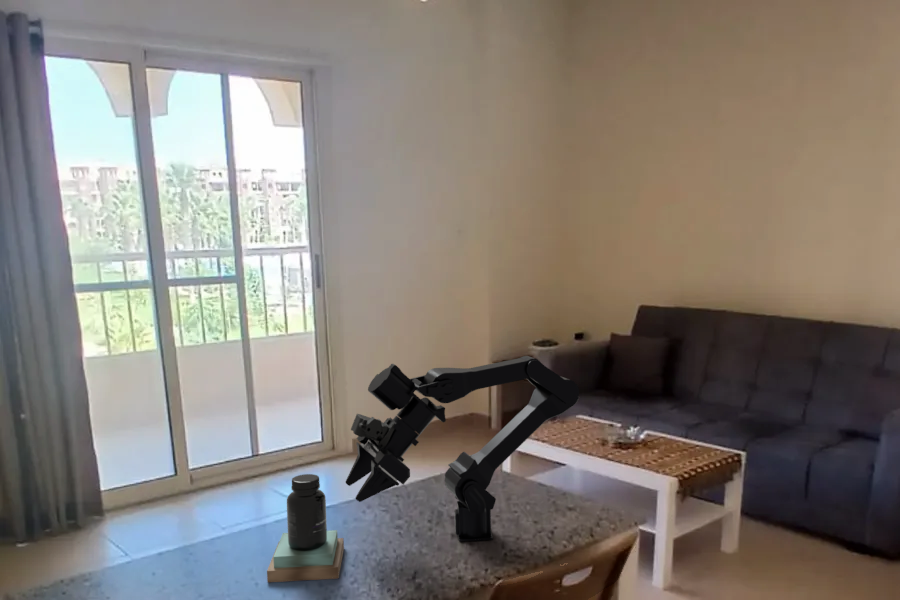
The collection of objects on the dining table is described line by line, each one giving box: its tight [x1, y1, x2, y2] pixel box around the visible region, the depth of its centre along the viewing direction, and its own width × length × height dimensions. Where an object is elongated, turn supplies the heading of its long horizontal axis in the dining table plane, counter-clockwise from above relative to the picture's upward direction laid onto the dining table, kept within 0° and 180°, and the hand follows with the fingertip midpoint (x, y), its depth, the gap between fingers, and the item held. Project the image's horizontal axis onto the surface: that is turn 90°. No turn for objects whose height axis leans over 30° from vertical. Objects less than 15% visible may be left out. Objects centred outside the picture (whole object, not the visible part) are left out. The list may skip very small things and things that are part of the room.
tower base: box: [266, 529, 345, 583], centre depth 128 cm, size 12×12×4 cm
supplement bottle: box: [286, 473, 328, 551], centre depth 127 cm, size 7×7×12 cm
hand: (352, 492), depth 130 cm, fingers open, 9 cm apart
